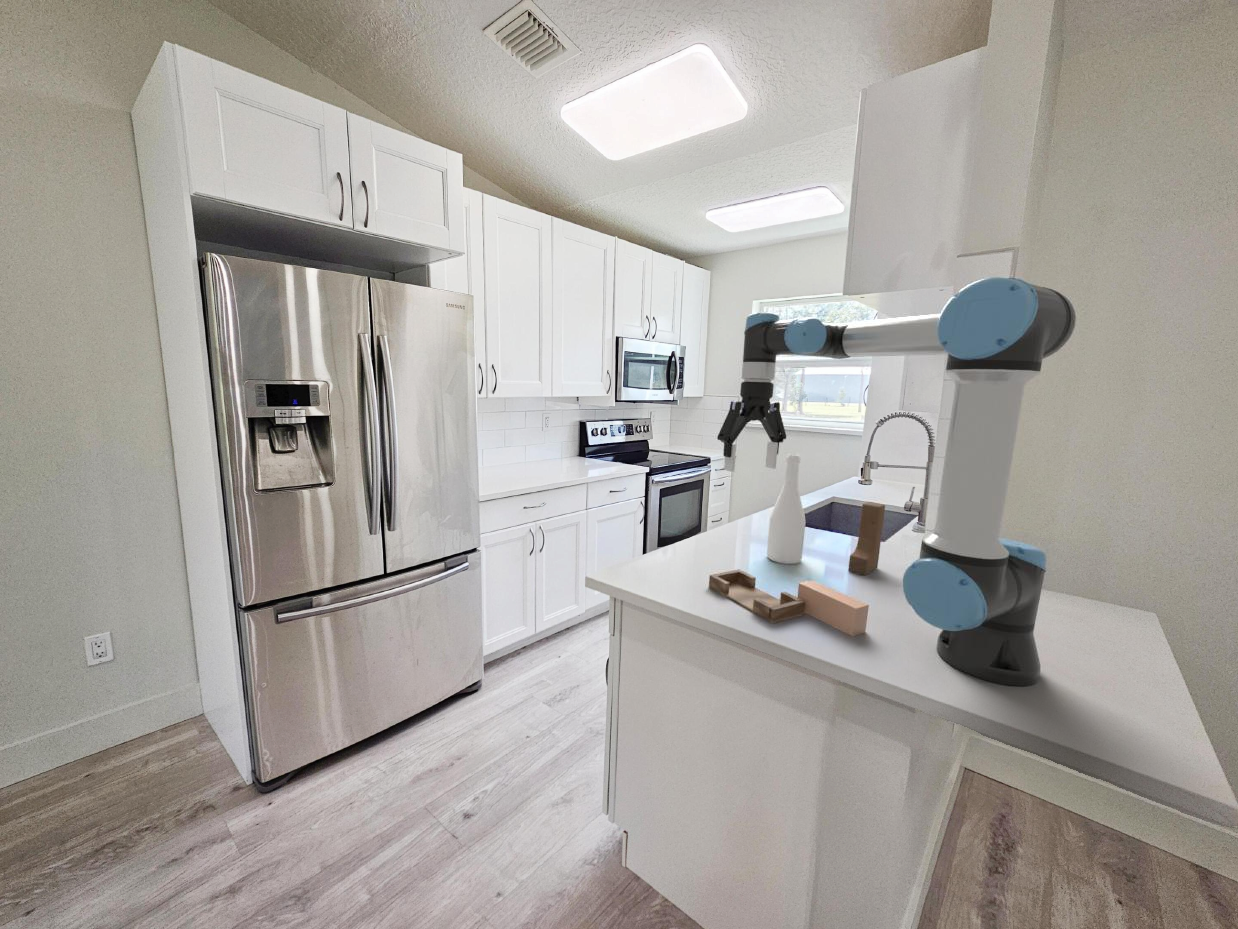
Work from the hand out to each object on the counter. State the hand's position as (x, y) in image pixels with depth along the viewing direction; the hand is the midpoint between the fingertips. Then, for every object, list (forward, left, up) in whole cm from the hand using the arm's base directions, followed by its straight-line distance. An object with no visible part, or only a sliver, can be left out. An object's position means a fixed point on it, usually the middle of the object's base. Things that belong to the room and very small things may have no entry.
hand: (750, 469), depth 122 cm
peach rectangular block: (-25, -1, -28) cm, 38 cm away
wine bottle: (+6, -21, -28) cm, 36 cm away
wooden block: (-9, -35, -28) cm, 46 cm away
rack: (-11, +7, -28) cm, 31 cm away
